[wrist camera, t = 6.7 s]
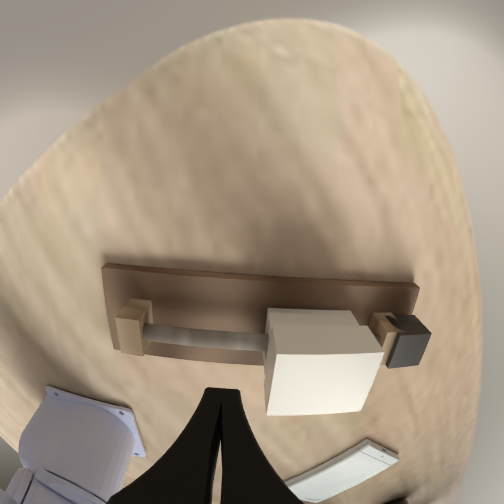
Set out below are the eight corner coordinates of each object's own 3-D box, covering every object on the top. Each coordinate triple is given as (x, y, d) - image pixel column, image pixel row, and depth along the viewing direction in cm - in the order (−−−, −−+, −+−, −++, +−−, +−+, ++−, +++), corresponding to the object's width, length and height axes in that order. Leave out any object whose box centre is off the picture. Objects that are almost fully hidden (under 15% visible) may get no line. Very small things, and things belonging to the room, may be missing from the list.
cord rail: (117, 342, 18) (98, 373, 15) (106, 263, 17) (79, 286, 13) (390, 355, 19) (410, 385, 16) (414, 282, 17) (442, 306, 14)
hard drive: (317, 504, 26) (400, 461, 23) (275, 492, 24) (369, 446, 22) (315, 494, 27) (396, 451, 25) (274, 481, 26) (365, 434, 23)
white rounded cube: (261, 356, 17) (266, 415, 13) (268, 300, 16) (276, 353, 11) (337, 356, 18) (360, 410, 13) (352, 303, 16) (384, 352, 12)
